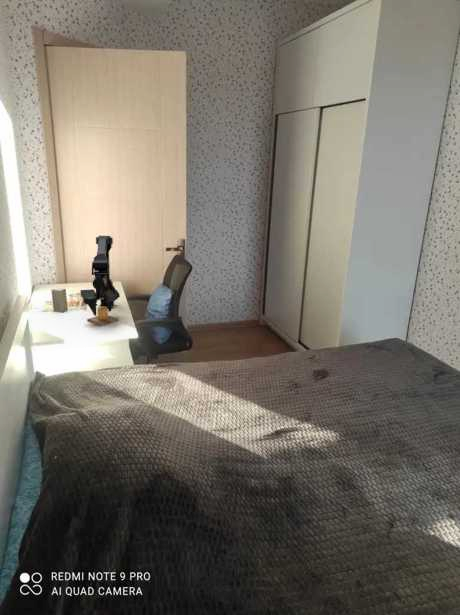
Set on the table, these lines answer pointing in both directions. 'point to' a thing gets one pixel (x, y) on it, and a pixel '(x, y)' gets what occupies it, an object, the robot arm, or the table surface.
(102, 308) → the orange cylinder
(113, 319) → the walnut pad
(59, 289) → the skincare box
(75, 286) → the table surface
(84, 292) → the smart home device
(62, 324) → the table surface
